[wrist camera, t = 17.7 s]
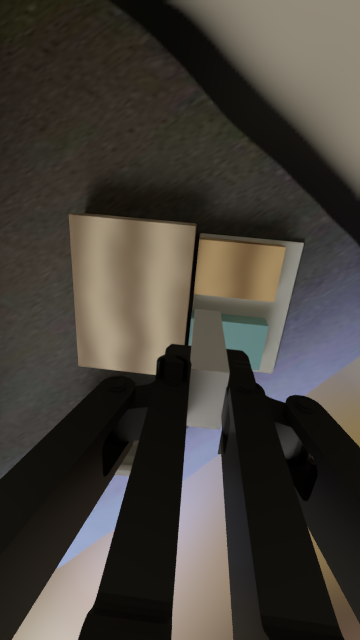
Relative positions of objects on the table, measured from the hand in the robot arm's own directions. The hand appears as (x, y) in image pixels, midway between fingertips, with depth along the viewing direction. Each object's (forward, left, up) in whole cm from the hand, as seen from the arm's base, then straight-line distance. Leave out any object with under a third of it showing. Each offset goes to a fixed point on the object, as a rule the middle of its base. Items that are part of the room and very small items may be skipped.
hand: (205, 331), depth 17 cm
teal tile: (+3, -8, -18) cm, 20 cm away
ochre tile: (+3, +1, -18) cm, 18 cm away
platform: (-8, -4, -18) cm, 20 cm away
